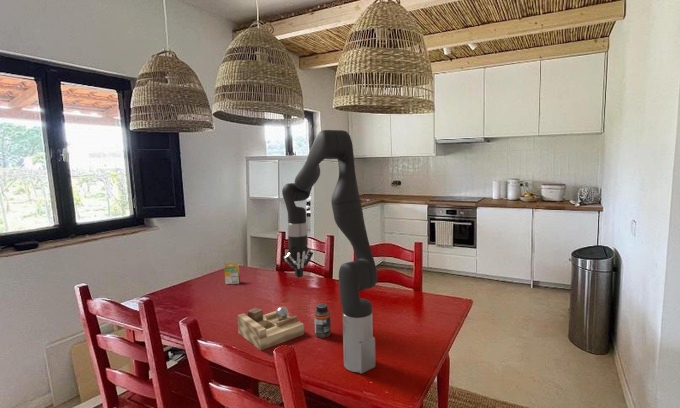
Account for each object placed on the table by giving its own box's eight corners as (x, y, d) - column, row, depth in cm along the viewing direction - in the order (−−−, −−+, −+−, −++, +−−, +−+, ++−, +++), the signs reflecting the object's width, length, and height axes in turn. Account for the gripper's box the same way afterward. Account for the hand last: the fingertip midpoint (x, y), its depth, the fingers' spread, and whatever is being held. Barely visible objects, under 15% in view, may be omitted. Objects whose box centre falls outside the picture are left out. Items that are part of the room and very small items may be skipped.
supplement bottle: (322, 329, 140) (321, 301, 139) (334, 333, 136) (333, 304, 135) (311, 335, 136) (310, 306, 134) (323, 340, 132) (322, 309, 131)
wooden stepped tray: (304, 334, 137) (303, 316, 136) (260, 350, 125) (259, 331, 125) (279, 319, 150) (279, 302, 150) (238, 332, 139) (237, 315, 138)
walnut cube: (263, 319, 141) (262, 309, 140) (255, 323, 138) (254, 313, 137) (256, 317, 143) (255, 307, 143) (248, 321, 140) (247, 311, 140)
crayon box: (240, 282, 201) (239, 261, 199) (239, 283, 198) (237, 263, 196) (226, 282, 200) (225, 262, 199) (225, 284, 197) (224, 263, 196)
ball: (291, 319, 140) (290, 307, 140) (279, 323, 137) (279, 310, 137) (284, 315, 144) (283, 303, 144) (273, 319, 141) (272, 306, 140)
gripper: (288, 237, 135) (289, 283, 137) (317, 233, 144) (318, 275, 146) (277, 235, 141) (279, 278, 143) (306, 230, 150) (307, 271, 151)
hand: (299, 277), depth 144 cm, fingers closed
